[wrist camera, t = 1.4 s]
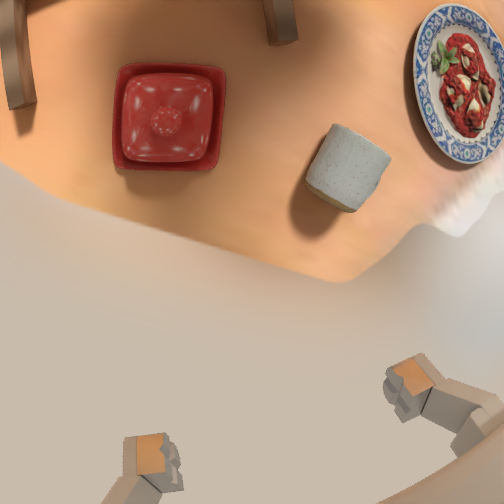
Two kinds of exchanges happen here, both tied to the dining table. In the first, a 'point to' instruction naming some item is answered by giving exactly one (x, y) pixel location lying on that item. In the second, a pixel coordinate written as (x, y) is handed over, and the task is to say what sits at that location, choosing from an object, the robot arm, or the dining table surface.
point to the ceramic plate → (460, 82)
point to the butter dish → (168, 116)
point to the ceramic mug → (346, 169)
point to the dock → (18, 54)
